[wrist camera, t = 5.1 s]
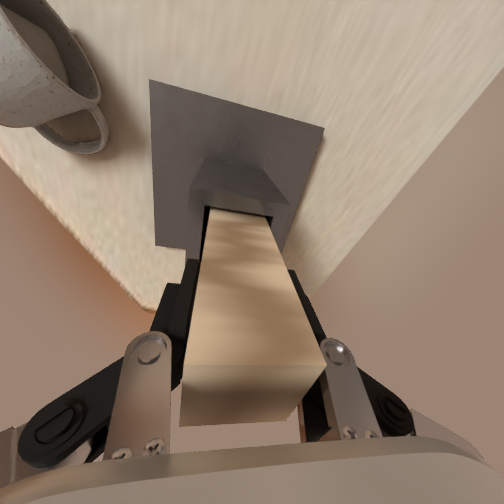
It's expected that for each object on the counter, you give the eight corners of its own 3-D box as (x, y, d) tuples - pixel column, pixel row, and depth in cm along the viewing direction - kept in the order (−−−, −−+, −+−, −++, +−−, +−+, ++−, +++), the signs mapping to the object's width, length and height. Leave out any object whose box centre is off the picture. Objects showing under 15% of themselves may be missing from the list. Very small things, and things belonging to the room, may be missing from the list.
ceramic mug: (-32, 36, 17) (-185, -11, 11) (50, -7, 16) (-61, -86, 10) (71, 163, 23) (13, 182, 17) (135, 136, 22) (100, 144, 16)
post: (253, 187, 21) (328, 364, 6) (246, 222, 24) (286, 421, 8) (214, 180, 21) (181, 363, 5) (210, 217, 23) (177, 427, 7)
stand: (319, 127, 23) (406, 133, 12) (276, 255, 33) (303, 325, 21) (154, 81, 20) (58, 29, 8) (158, 240, 29) (115, 315, 18)
